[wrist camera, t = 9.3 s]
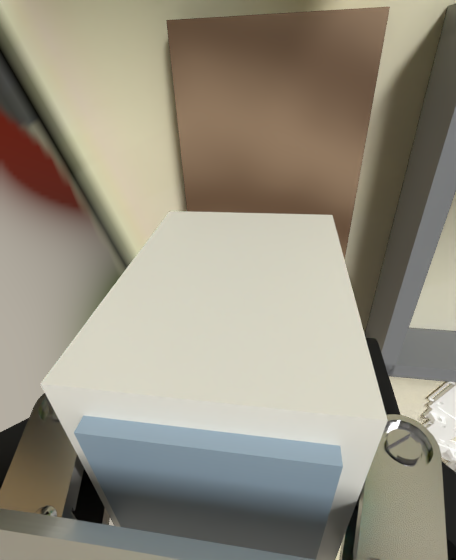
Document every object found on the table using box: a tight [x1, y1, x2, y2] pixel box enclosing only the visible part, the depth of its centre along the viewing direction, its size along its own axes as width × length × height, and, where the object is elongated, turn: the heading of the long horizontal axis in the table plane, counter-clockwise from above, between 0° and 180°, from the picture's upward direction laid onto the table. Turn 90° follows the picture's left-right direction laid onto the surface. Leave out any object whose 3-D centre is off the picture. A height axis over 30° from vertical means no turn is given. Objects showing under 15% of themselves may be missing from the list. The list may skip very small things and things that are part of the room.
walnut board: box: [167, 7, 390, 260], centre depth 19 cm, size 18×9×1 cm, turn 2°
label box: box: [41, 211, 388, 560], centre depth 9 cm, size 5×7×7 cm
